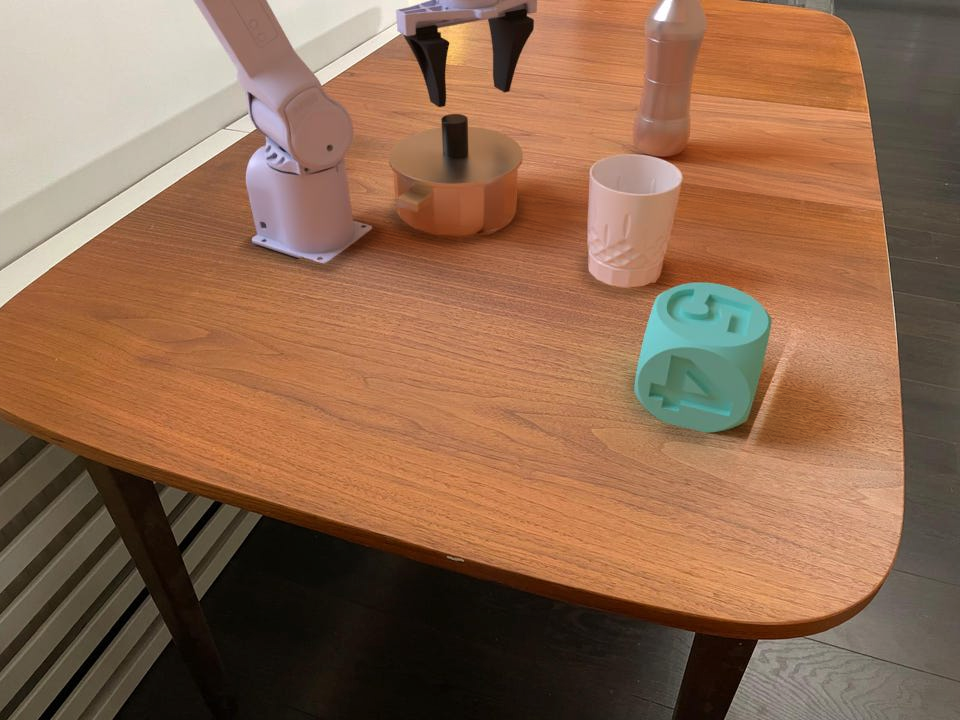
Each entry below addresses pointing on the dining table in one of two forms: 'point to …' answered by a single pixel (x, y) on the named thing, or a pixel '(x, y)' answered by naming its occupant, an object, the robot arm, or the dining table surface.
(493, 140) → the lid
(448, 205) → the pot
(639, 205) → the white cup
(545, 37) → the dining table surface
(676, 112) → the plastic bottle
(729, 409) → the decorative dice
